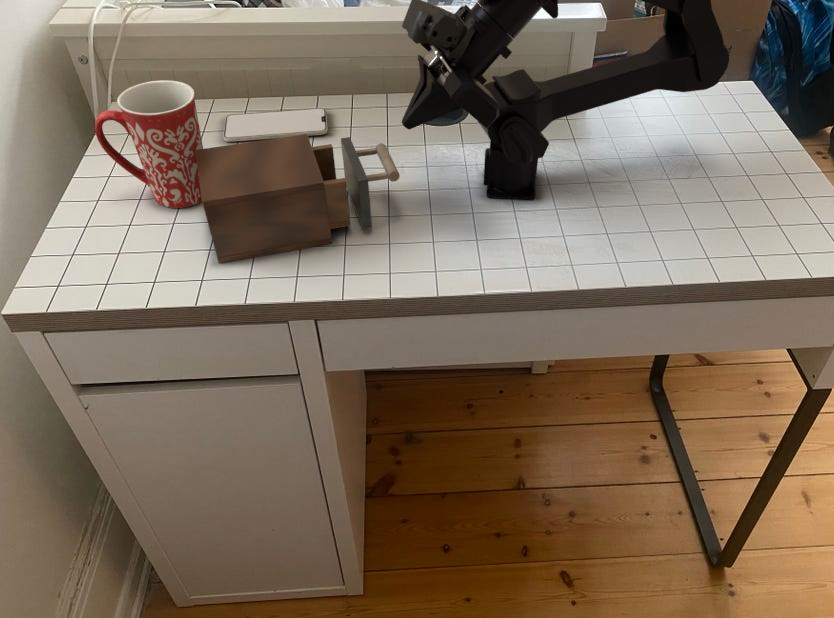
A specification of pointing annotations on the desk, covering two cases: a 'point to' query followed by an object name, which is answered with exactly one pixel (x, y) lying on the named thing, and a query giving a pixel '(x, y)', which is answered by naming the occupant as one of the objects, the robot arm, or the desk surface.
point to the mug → (160, 139)
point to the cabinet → (263, 197)
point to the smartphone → (275, 124)
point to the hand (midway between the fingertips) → (404, 126)
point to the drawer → (351, 181)
